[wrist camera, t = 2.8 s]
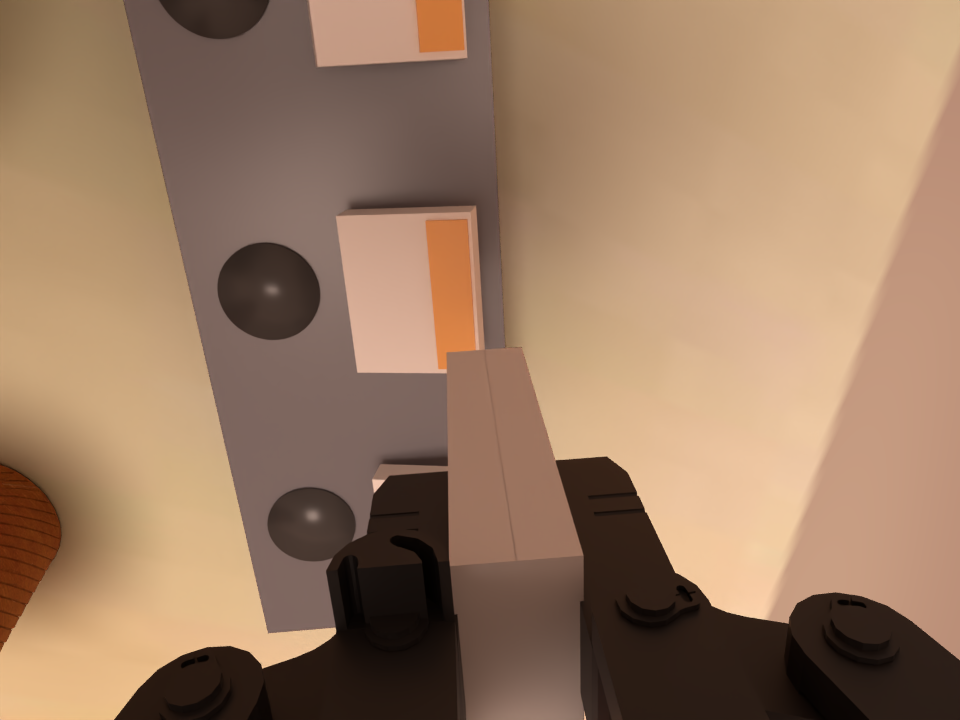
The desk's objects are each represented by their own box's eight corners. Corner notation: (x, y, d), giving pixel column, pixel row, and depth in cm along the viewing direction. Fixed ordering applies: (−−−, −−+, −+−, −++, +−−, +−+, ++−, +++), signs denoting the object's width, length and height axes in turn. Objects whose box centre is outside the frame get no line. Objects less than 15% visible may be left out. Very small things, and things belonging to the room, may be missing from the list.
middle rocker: (347, 209, 21) (334, 217, 20) (476, 205, 20) (469, 212, 19) (366, 360, 23) (356, 374, 22) (485, 361, 22) (480, 375, 21)
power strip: (125, -201, 20) (62, -257, 17) (469, -218, 20) (475, -276, 17) (286, 574, 31) (267, 636, 27) (509, 555, 31) (518, 614, 28)
